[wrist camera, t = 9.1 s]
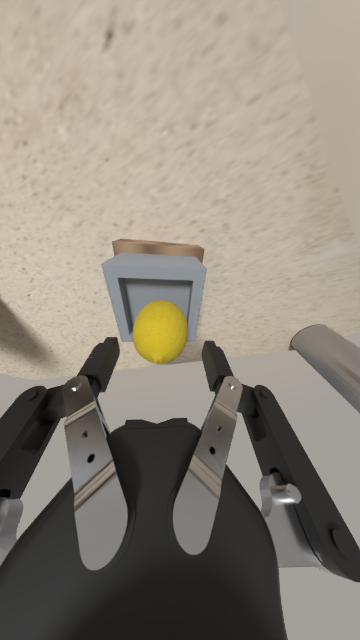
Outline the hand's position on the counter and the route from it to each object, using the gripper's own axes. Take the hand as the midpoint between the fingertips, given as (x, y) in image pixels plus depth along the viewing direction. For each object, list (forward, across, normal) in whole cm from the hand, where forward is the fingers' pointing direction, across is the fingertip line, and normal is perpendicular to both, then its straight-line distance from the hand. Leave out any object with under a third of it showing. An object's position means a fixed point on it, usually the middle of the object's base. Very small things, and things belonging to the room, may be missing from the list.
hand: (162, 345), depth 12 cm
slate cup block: (+11, +1, -1) cm, 11 cm away
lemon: (+6, 0, 0) cm, 6 cm away
